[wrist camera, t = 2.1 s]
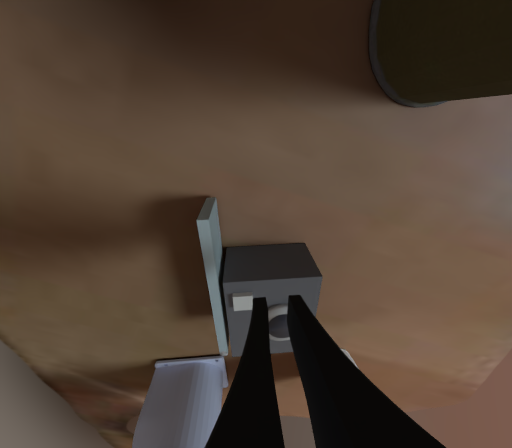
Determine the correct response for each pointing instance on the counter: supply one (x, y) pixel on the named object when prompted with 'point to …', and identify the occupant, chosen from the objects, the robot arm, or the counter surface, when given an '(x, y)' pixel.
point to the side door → (214, 268)
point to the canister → (441, 49)
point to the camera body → (267, 289)
